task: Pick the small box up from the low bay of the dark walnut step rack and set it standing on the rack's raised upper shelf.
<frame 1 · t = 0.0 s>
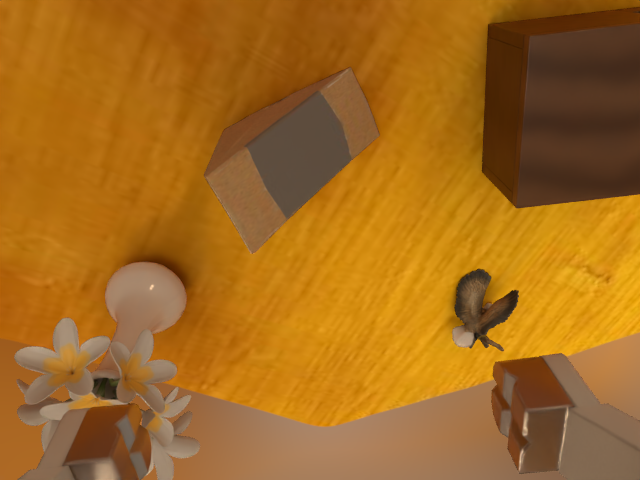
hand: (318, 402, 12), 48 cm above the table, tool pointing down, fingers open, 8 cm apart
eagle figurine: (475, 300, 70), on the table
rack: (607, 88, 58), on the table
flower vase: (159, 283, 66), on the table
sandwich container: (303, 132, 58), on the table
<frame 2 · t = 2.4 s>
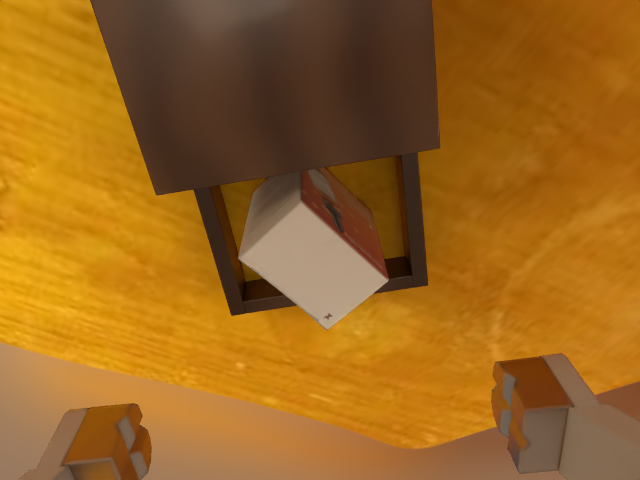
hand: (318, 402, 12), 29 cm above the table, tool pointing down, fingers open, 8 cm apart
rack: (298, 127, 39), on the table
small box: (312, 200, 42), resting in rack
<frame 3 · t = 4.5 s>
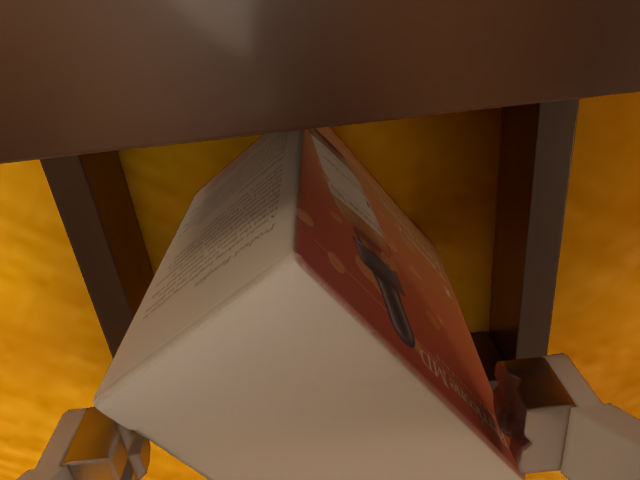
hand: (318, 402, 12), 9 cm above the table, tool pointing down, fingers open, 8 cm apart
rack: (300, 55, 17), on the table
small box: (318, 218, 20), resting in rack, touching gripper
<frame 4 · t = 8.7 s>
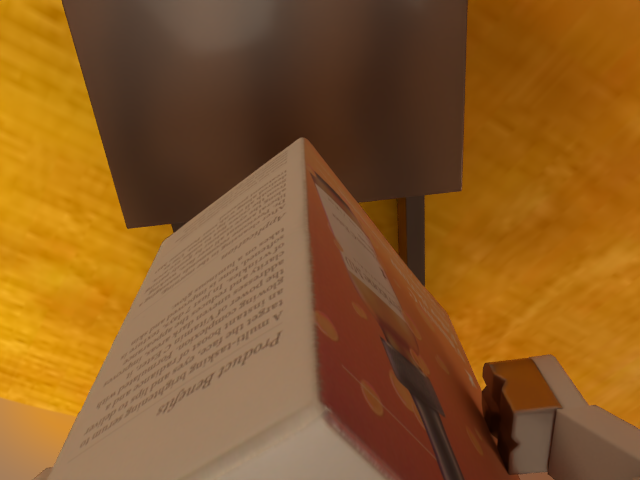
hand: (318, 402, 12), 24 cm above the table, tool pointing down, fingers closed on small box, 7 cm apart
rack: (292, 153, 35), on the table
small box: (310, 273, 17), point 19 cm above the table, touching gripper
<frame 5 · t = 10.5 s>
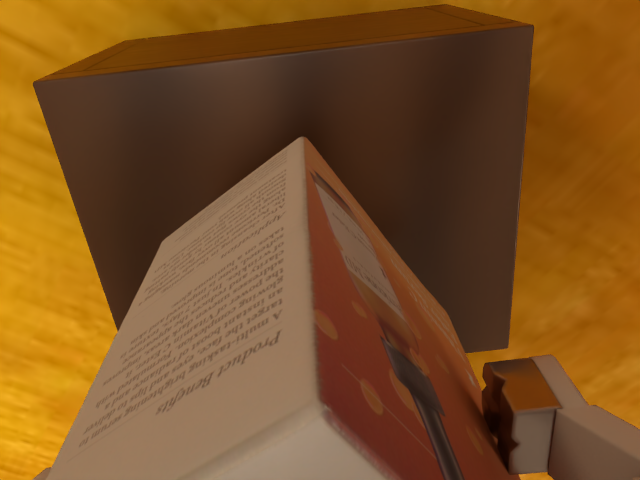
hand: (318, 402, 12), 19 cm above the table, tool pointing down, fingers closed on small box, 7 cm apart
rack: (314, 260, 32), on the table
small box: (310, 273, 17), point 13 cm above the table, touching gripper
when the fingers open (16 cm above the table, at t = 12.0 s): small box stays where it is, resting on rack.
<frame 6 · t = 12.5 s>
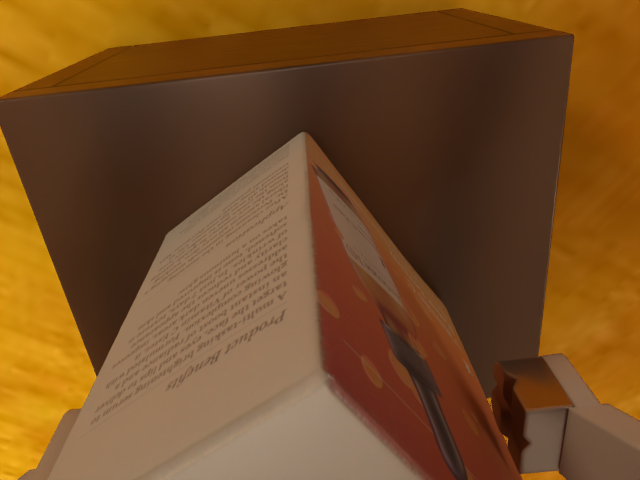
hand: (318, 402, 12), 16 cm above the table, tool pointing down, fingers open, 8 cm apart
rack: (316, 283, 30), on the table
small box: (311, 266, 17), point 10 cm above the table, touching rack
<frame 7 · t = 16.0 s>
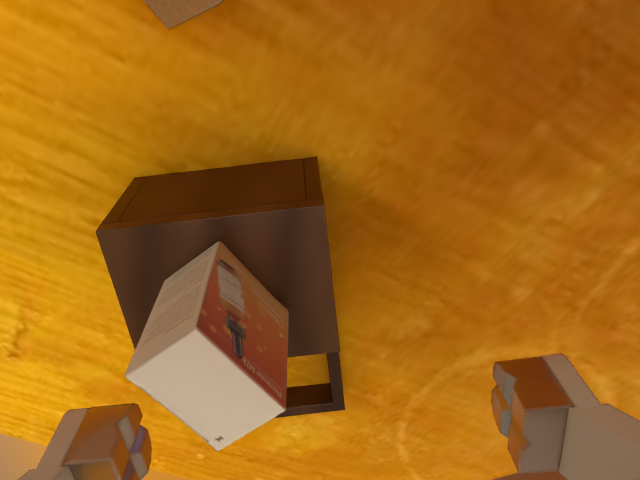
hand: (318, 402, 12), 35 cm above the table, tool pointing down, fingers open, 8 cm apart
rack: (250, 296, 52), on the table
small box: (227, 293, 40), point 10 cm above the table, touching rack
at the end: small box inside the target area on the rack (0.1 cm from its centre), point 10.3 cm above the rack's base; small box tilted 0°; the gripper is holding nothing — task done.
